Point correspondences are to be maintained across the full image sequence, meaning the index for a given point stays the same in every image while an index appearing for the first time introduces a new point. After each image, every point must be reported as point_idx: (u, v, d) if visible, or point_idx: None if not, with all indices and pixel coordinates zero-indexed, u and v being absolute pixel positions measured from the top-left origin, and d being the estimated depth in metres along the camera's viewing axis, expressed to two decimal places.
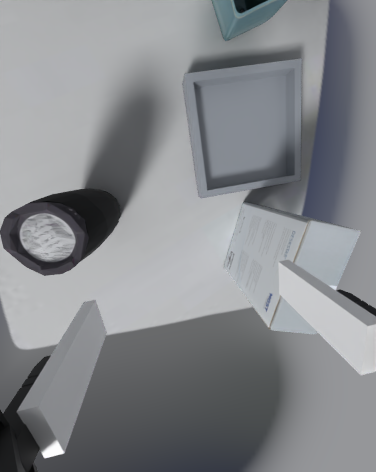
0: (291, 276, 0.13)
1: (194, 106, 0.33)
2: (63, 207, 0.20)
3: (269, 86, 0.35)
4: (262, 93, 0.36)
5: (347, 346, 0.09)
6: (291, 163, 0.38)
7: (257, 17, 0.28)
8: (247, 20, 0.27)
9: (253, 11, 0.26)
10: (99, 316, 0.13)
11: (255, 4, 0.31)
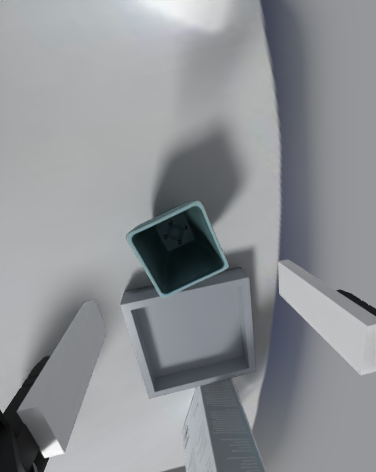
0: (291, 276, 0.13)
1: (133, 329, 0.30)
2: None
3: None
4: (211, 295, 0.33)
5: (347, 346, 0.09)
6: (246, 354, 0.36)
7: None
8: None
9: (181, 289, 0.24)
10: (99, 316, 0.13)
11: (197, 230, 0.29)
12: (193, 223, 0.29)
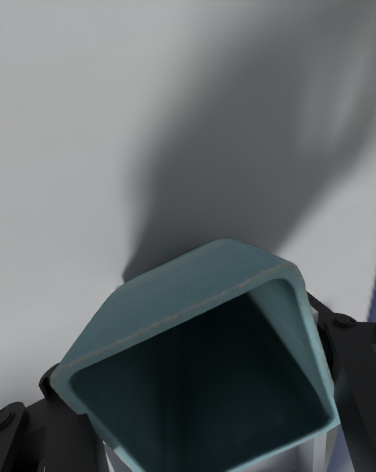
0: None
1: None
2: None
3: None
4: None
5: None
6: None
7: None
8: None
9: None
10: None
11: None
12: None
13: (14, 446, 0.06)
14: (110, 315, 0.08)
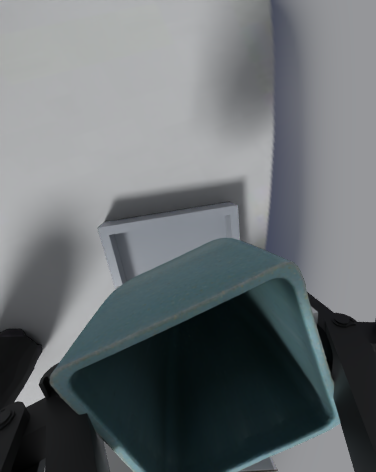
0: None
1: (112, 258, 0.28)
2: None
3: (206, 223, 0.31)
4: (198, 230, 0.31)
5: None
6: None
7: None
8: None
9: None
10: None
11: None
12: None
13: (14, 446, 0.06)
14: (110, 315, 0.08)
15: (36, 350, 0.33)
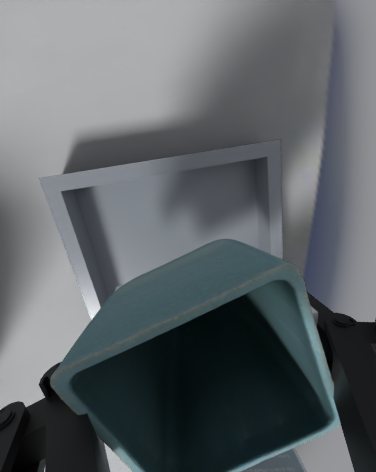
0: None
1: (70, 233, 0.17)
2: None
3: (225, 178, 0.20)
4: (212, 190, 0.20)
5: None
6: None
7: None
8: None
9: None
10: None
11: None
12: None
13: (15, 446, 0.06)
14: (110, 316, 0.08)
15: None
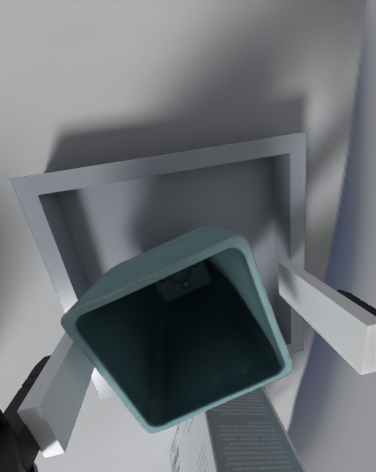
0: (291, 276, 0.13)
1: (51, 246, 0.14)
2: None
3: (236, 179, 0.17)
4: (222, 193, 0.17)
5: (347, 346, 0.09)
6: (285, 317, 0.19)
7: None
8: None
9: None
10: None
11: (217, 270, 0.17)
12: (210, 259, 0.16)
13: None
14: (107, 281, 0.10)
15: None
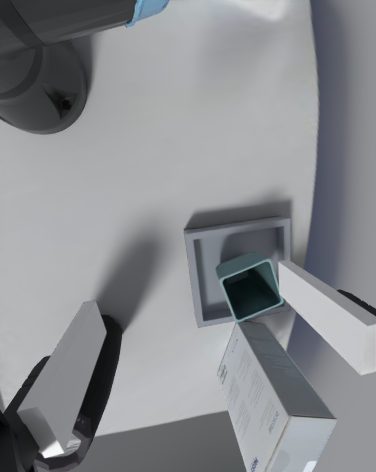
0: (291, 276, 0.13)
1: (193, 258, 0.36)
2: None
3: (262, 232, 0.39)
4: (255, 237, 0.39)
5: (347, 346, 0.09)
6: None
7: None
8: None
9: None
10: (99, 316, 0.13)
11: (253, 270, 0.39)
12: None
13: None
14: (225, 270, 0.33)
15: (121, 333, 0.40)
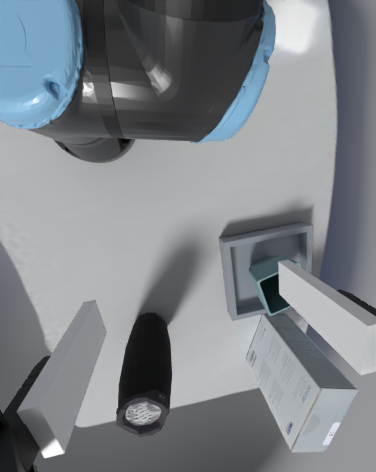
0: (291, 276, 0.13)
1: (230, 262, 0.42)
2: (156, 396, 0.30)
3: (286, 237, 0.45)
4: (281, 241, 0.45)
5: (347, 346, 0.09)
6: None
7: None
8: None
9: (280, 310, 0.40)
10: (99, 316, 0.13)
11: None
12: None
13: None
14: (260, 273, 0.39)
15: (166, 327, 0.47)
